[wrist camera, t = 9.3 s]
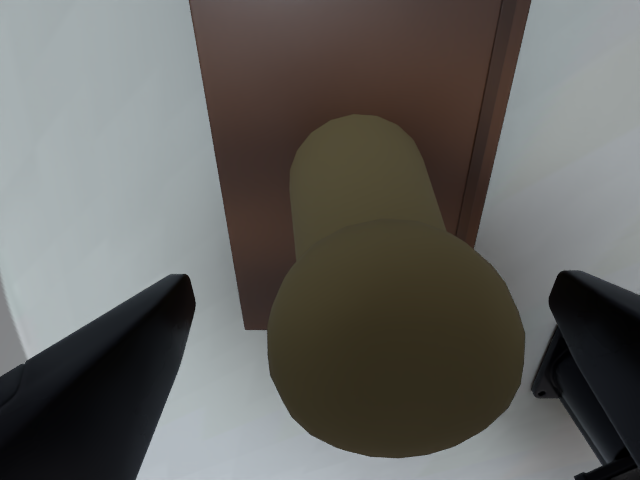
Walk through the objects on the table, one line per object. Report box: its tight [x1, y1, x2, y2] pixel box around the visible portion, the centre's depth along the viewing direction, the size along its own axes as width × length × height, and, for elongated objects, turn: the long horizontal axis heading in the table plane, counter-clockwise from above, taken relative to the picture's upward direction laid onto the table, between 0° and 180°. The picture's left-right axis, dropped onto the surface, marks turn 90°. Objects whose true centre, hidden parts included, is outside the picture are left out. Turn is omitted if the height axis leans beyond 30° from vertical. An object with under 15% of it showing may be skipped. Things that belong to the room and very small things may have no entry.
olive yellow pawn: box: [267, 114, 525, 458], centre depth 11 cm, size 6×6×11 cm
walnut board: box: [189, 0, 531, 330], centre depth 16 cm, size 18×12×2 cm, turn 1°
